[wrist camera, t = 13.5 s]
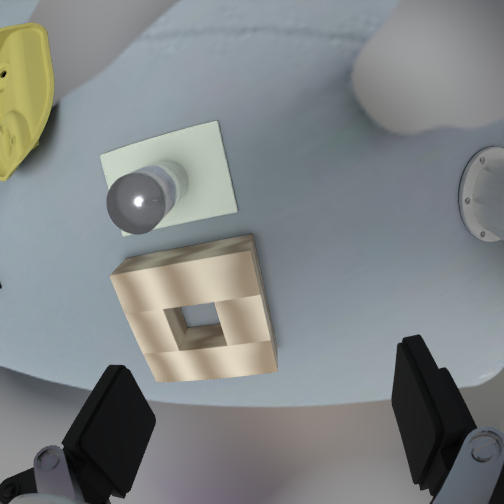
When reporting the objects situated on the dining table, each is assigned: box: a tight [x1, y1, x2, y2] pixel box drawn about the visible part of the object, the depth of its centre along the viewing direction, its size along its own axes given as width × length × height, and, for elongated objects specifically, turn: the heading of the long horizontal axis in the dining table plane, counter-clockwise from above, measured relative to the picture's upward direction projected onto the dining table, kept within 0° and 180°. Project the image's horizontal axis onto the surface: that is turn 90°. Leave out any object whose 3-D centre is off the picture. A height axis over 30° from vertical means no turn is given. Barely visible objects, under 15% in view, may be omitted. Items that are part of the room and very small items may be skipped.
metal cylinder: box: [107, 159, 189, 234], centre depth 29 cm, size 5×5×10 cm
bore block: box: [110, 234, 278, 382], centre depth 38 cm, size 16×16×5 cm
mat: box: [100, 121, 238, 236], centre depth 34 cm, size 14×10×1 cm
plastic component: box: [0, 23, 54, 182], centre depth 29 cm, size 20×7×10 cm
